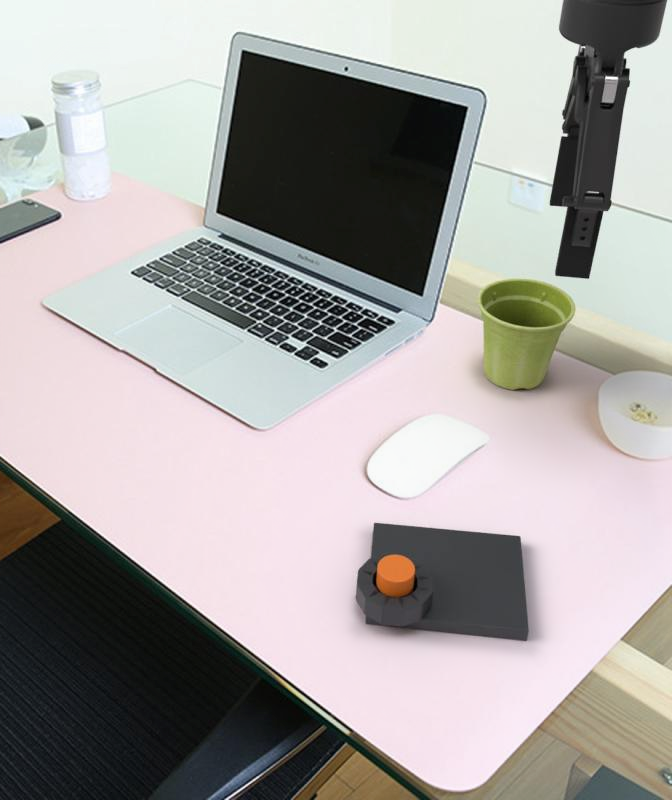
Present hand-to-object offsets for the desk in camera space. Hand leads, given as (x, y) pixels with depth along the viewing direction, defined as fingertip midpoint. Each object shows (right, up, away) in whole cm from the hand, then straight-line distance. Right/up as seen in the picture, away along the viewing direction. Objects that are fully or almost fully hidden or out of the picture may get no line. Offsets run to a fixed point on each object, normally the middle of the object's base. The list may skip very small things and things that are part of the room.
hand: (567, 238), depth 85 cm
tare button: (-17, -28, -13) cm, 35 cm away
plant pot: (-1, -12, +14) cm, 18 cm away
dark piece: (-13, -29, -9) cm, 33 cm away
